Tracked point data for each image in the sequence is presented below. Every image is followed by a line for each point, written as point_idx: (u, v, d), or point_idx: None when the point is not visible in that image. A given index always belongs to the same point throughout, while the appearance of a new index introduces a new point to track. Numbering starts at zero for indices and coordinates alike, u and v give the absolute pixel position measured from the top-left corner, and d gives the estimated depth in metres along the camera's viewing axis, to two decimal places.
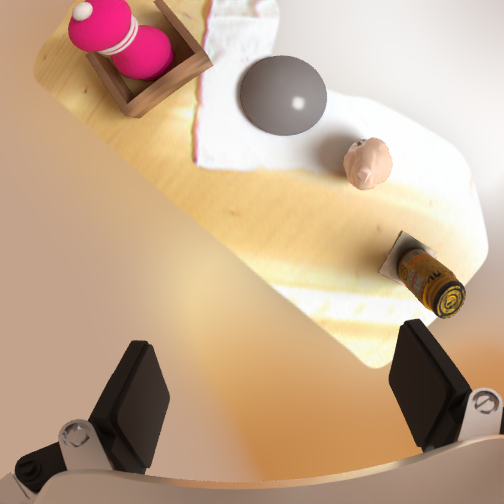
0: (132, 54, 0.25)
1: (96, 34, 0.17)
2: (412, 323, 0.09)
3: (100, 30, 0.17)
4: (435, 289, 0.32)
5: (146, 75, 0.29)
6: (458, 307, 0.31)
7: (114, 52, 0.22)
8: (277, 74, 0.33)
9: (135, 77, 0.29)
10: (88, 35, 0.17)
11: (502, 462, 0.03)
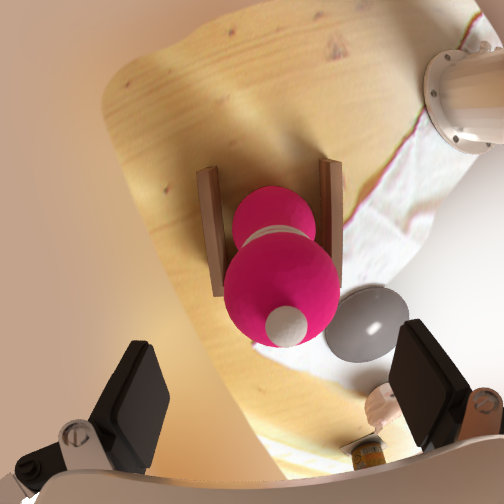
0: None
1: (276, 346, 0.15)
2: (412, 323, 0.09)
3: None
4: None
5: None
6: None
7: None
8: (378, 309, 0.33)
9: None
10: (265, 343, 0.14)
11: (502, 462, 0.03)
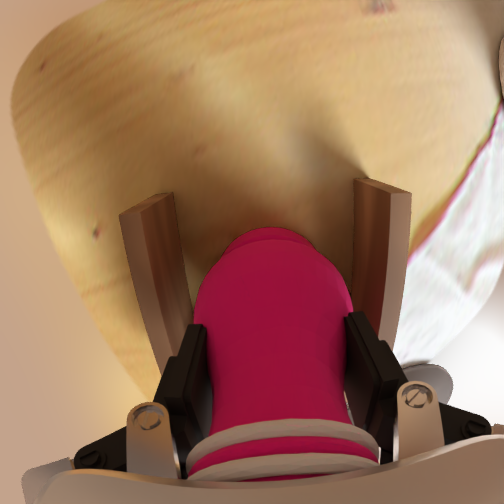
0: None
1: None
2: (354, 315, 0.10)
3: None
4: None
5: None
6: None
7: None
8: None
9: None
10: None
11: (502, 462, 0.03)
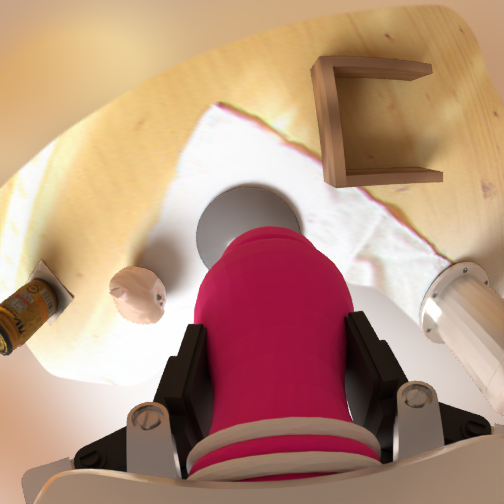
0: None
1: None
2: (354, 315, 0.10)
3: None
4: (6, 325, 0.25)
5: None
6: None
7: None
8: None
9: None
10: None
11: (502, 462, 0.03)
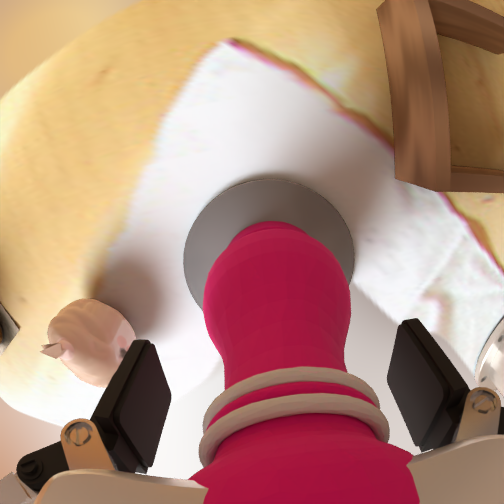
0: None
1: None
2: (410, 323, 0.09)
3: None
4: None
5: None
6: None
7: None
8: None
9: None
10: None
11: (502, 462, 0.03)
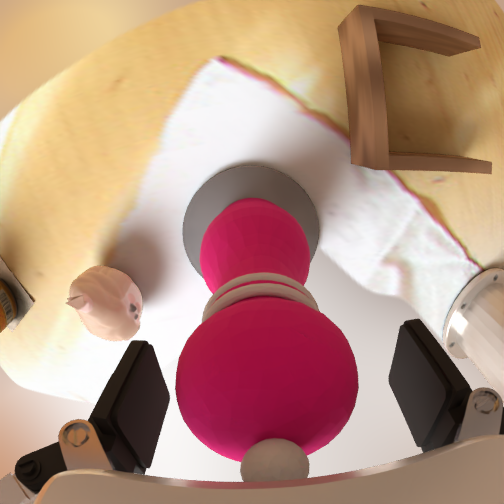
0: None
1: None
2: (412, 323, 0.09)
3: None
4: None
5: None
6: None
7: None
8: None
9: None
10: None
11: (502, 462, 0.03)
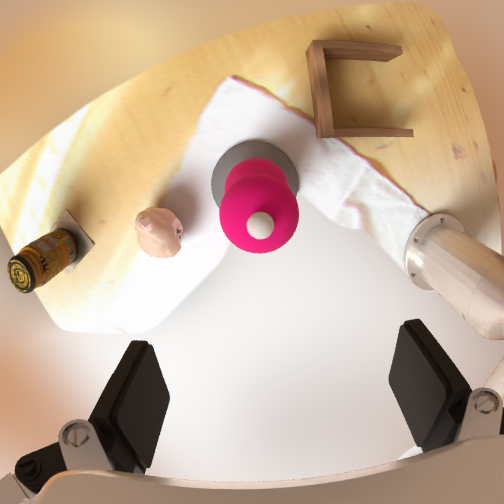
0: None
1: (256, 250, 0.22)
2: (412, 323, 0.09)
3: (262, 250, 0.22)
4: (32, 261, 0.31)
5: None
6: (14, 283, 0.30)
7: None
8: None
9: None
10: (248, 246, 0.22)
11: (502, 462, 0.03)
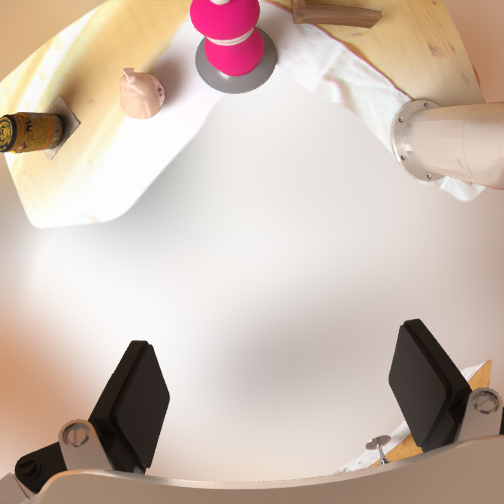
0: (228, 51, 0.26)
1: (218, 25, 0.18)
2: (412, 323, 0.09)
3: (223, 24, 0.18)
4: (18, 119, 0.27)
5: (225, 71, 0.31)
6: None
7: (217, 42, 0.23)
8: None
9: (215, 66, 0.31)
10: (210, 20, 0.18)
11: (502, 462, 0.03)
